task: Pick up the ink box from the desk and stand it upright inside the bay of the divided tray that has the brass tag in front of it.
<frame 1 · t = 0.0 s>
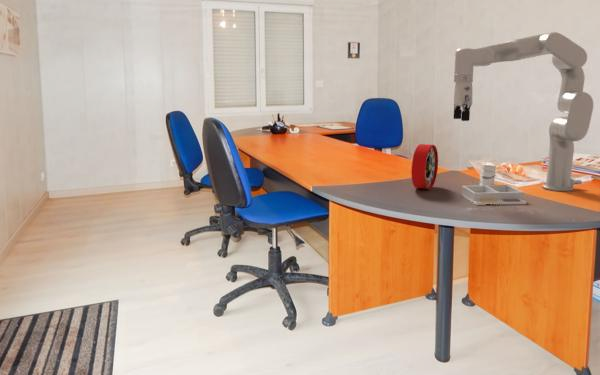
hand: (461, 119, 212), 31 cm above the table, tool pointing down, fingers open, 9 cm apart
toy clock: (424, 188, 225), on the table
ink box: (486, 190, 219), on the table
divided tray: (492, 199, 203), on the table
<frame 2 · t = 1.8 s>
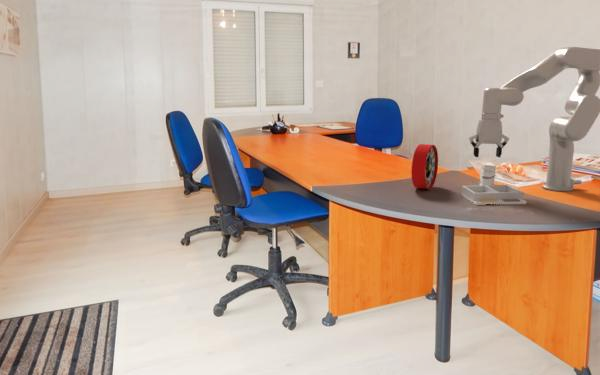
hand: (487, 156, 216), 15 cm above the table, tool pointing down, fingers open, 9 cm apart
nothing on the table moved.
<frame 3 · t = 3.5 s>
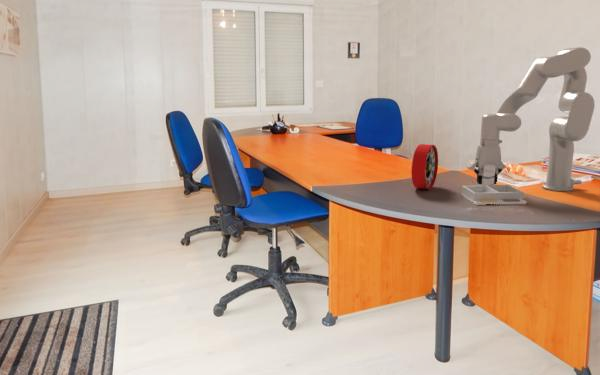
hand: (486, 183, 219), 3 cm above the table, tool pointing down, fingers closed on ink box, 5 cm apart
ink box: (486, 190, 219), on the table, touching gripper
everything else where it was.
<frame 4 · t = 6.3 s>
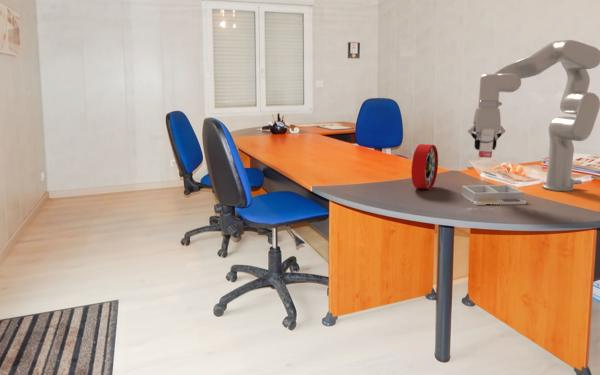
hand: (485, 148, 205), 20 cm above the table, tool pointing down, fingers closed on ink box, 5 cm apart
ink box: (484, 156, 206), point 17 cm above the table, touching gripper
everything else where it was.
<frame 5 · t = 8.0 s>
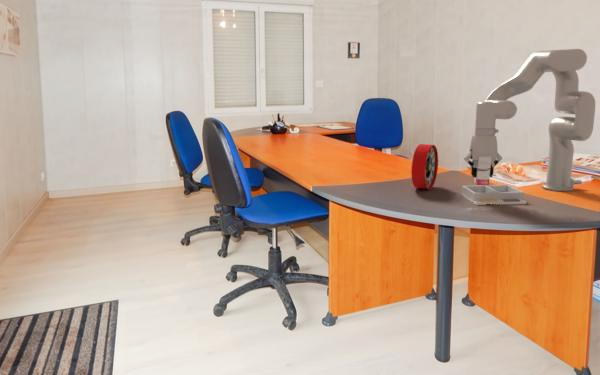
hand: (482, 176, 203), 9 cm above the table, tool pointing down, fingers closed on ink box, 5 cm apart
ink box: (481, 184, 203), point 6 cm above the table, touching gripper
everything else where it was.
when the fingers open (5 cm above the table, at t = 9.3 s): ink box drops 1 cm, resting on divided tray.
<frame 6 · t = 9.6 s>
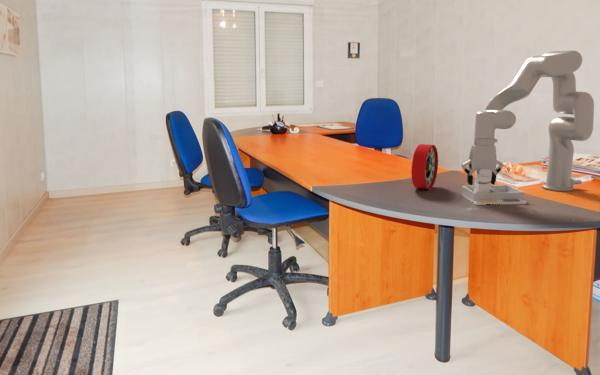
hand: (481, 184, 203), 6 cm above the table, tool pointing down, fingers open, 8 cm apart
ink box: (481, 196, 205), point 1 cm above the table, touching divided tray
everything else where it was.
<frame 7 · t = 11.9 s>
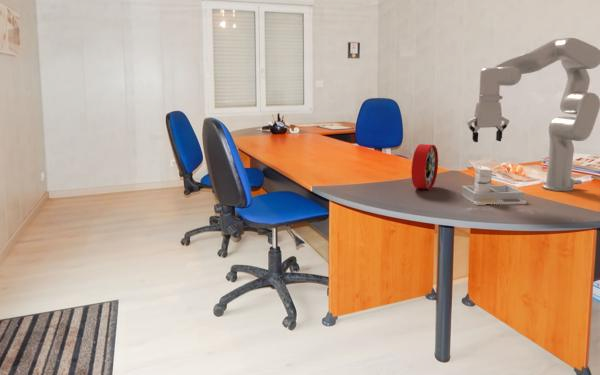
hand: (487, 141, 204), 23 cm above the table, tool pointing down, fingers open, 9 cm apart
nothing on the table moved.
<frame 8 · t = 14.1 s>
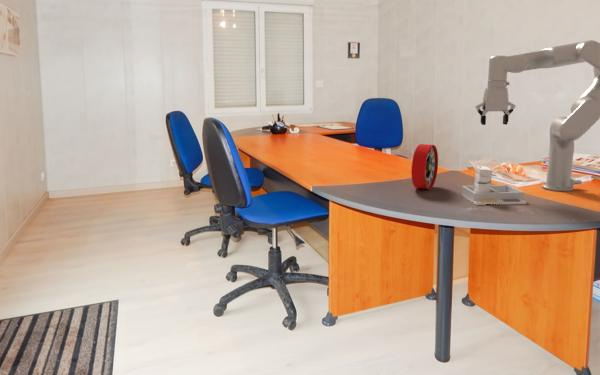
hand: (494, 124, 219), 28 cm above the table, tool pointing down, fingers open, 9 cm apart
nothing on the table moved.
at the end: ink box 0.5 cm from the target spot on the divided tray, point 0.8 cm above the divided tray's base; ink box tilted 0°; the gripper is holding nothing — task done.
